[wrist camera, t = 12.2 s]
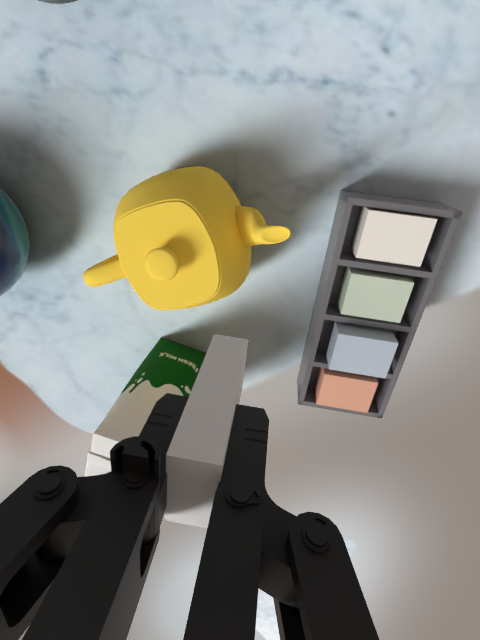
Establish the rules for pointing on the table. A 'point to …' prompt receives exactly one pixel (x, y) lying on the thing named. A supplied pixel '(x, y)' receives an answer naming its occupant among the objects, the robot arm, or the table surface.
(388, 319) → the key
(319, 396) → the key
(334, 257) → the keypad base
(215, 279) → the teapot
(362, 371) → the key
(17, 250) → the vase
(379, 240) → the key
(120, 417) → the milk carton
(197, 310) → the table surface
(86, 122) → the table surface
